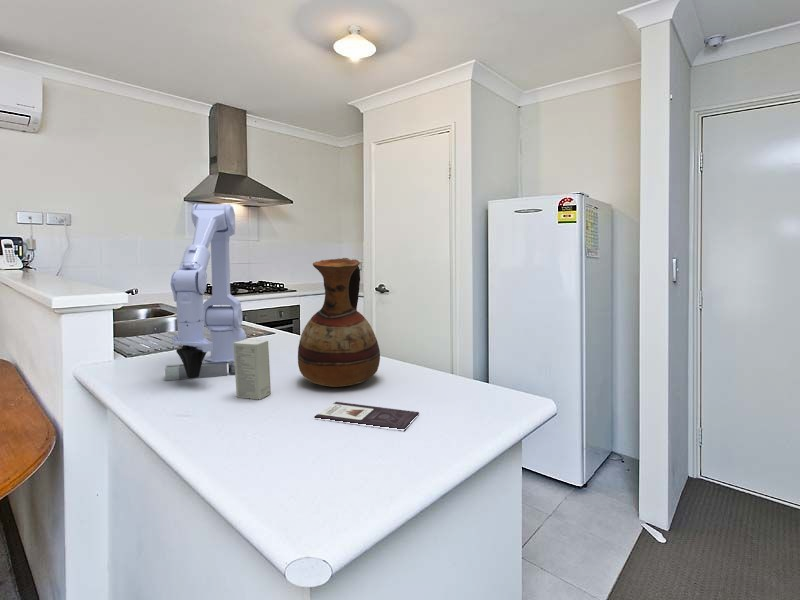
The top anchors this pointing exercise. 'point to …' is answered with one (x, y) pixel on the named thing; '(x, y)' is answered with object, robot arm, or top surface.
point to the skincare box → (252, 368)
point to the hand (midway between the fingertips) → (193, 377)
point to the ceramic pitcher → (338, 331)
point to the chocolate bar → (368, 415)
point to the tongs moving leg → (205, 371)
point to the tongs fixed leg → (230, 364)
